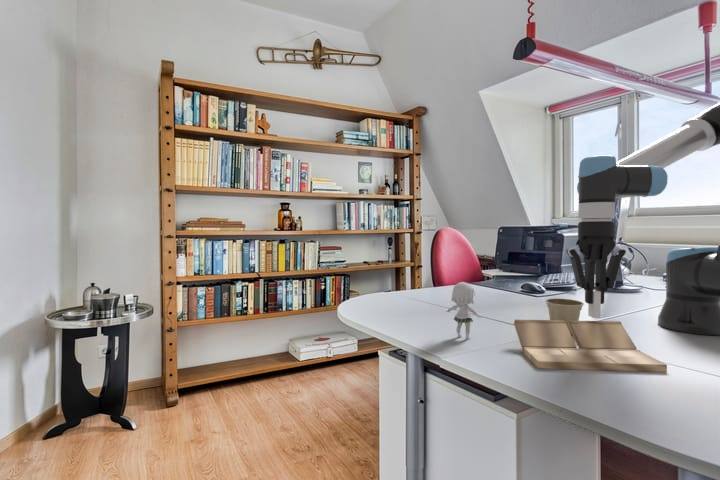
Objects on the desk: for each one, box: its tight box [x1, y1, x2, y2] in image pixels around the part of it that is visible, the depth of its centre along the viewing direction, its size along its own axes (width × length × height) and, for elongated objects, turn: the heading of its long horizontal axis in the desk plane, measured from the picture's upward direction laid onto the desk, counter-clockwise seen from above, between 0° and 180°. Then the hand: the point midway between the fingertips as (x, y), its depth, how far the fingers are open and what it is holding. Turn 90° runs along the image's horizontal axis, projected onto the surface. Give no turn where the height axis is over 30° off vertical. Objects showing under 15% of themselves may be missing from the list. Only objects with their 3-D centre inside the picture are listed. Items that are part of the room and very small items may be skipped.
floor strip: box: [523, 347, 668, 373], centre depth 81 cm, size 25×9×2 cm, turn 84°
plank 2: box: [568, 320, 638, 350], centre depth 89 cm, size 12×8×2 cm
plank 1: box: [513, 319, 578, 351], centre depth 90 cm, size 12×8×2 cm
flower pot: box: [545, 297, 585, 335], centre depth 104 cm, size 9×9×9 cm
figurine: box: [445, 281, 482, 340], centre depth 99 cm, size 10×6×15 cm, turn 47°
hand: (594, 316), depth 92 cm, fingers closed
